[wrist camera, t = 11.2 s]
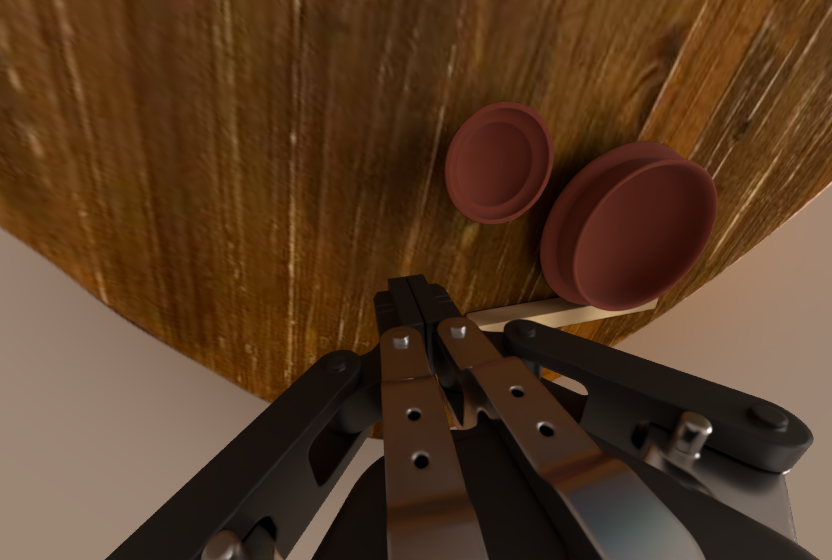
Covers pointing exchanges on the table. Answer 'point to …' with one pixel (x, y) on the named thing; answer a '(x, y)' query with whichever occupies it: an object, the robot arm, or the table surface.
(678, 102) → the table surface
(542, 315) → the rail
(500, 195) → the pottery
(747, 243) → the table surface
